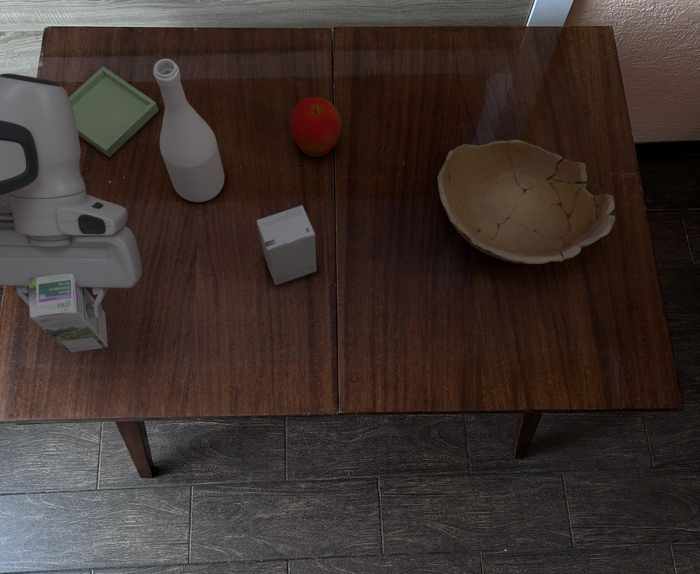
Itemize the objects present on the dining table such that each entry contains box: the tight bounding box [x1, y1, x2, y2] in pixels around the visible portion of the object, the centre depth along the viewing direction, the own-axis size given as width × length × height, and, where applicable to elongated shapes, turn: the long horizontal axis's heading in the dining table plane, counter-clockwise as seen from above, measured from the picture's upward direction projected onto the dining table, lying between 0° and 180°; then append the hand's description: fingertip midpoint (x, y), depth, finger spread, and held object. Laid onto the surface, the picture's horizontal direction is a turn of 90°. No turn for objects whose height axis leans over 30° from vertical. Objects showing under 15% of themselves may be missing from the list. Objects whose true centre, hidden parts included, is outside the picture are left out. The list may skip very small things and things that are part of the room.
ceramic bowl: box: [436, 139, 616, 265], centre depth 123 cm, size 30×27×15 cm
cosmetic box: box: [256, 205, 318, 286], centre depth 117 cm, size 8×6×15 cm
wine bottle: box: [152, 58, 225, 203], centre depth 115 cm, size 10×10×30 cm
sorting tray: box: [69, 65, 160, 158], centre depth 132 cm, size 14×14×2 cm
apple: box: [290, 96, 342, 158], centre depth 127 cm, size 9×9×12 cm
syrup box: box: [28, 274, 108, 354], centre depth 94 cm, size 6×6×14 cm
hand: (67, 315), depth 93 cm, fingers closed on syrup box, 6 cm apart
